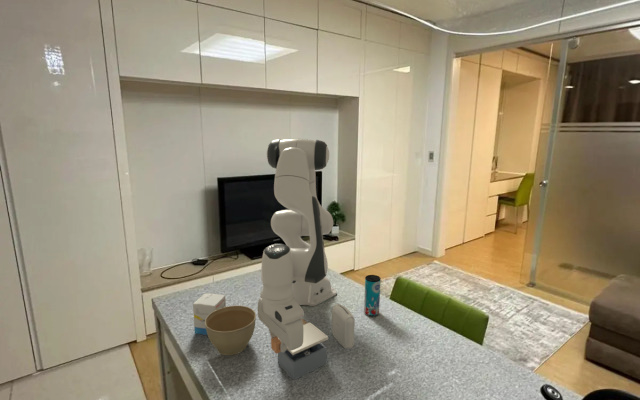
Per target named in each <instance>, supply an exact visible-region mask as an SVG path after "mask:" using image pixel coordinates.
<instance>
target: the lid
mask: <svg viewBox="0 0 640 400" xmlns="http://www.w3.org/2000/svg"><path fill="white" fill-rule="evenodd" d="M303 333H304V335H303V344H302V346H301V347H299V348H297V349H294V350H290V349H289V348H288V347H287V350H288V351H289V352H290V353H291V354H292V355H294V354H296V353H299V352H301V351H303V350H305V349H308V348H310V347H312V346H314V345H316V344H319V343H323V342H326V341H328V340H329V336H328V335H327V334H325V333H324V332H323V331H322V330H320V329H319V328H318V327H316V326H315V325H314V324H313V323H311V322H307V324H305V325H303ZM279 344H281V342H280V339H279V338H278V337H275V338H272V339H271V338H270V349H272V351H273V352H274V353H275V354H276V355H278V353H279V352H281V351H280V350H279Z"/></svg>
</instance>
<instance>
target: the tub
mask: <svg viewBox="0 0 640 400" xmlns="http://www.w3.org/2000/svg"><path fill="white" fill-rule="evenodd" d="M309 349H311V350H312V353H311V354H309V355H307V356H304V357H303V351H301V352H299V353H296V354H294V355H292V354H291V353H290V352H289V351H288V350H286V351H285V352H279V353H277V364H278V365H279V366H280V367H281V368H282V369H283V370H284V372H285V373H286V374H287V375H288V376H289V377H290V379H292V380H293V381H294V380H296V379H298V378H301V377H303V376H305V375H307V374H309V373H311V372H312V371H315V370H316V369H318V368H321V367H323V366H325V365H327V363H328V361H327V359H328V358H327V355H328V354H327V353H328V351H327V349H328V348H327V346H326V345H324V344H323V342H321V343H319V344H316V345H314V346H312V347H310V348H309Z"/></svg>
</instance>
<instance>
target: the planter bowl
mask: <svg viewBox="0 0 640 400" xmlns="http://www.w3.org/2000/svg"><path fill="white" fill-rule="evenodd" d="M256 320H257V313H256V311H255V310H254V309H253V308H251V307H249V306H245V305H230V306H226V307H223V308H220V309H218V310H215V311H214V312H212V313H210V314H209V315H208V316H207V318H206V320H205V326H206V330H207V335H206V336H207V337H208V339H209V341H210V342H211V345H213V347H214V348H215V349H216V350H217V351H218V352H217V353H219V354H220V355H222V356H223V355H224V356H233V355H234V356H235V355H238V354H240V353H242V352H243V351H244V350H245V349H247V346H248V344H249V342H250V341H251V339H252V337H253V335H254V332H255V329H256Z"/></svg>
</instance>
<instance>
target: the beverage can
mask: <svg viewBox="0 0 640 400" xmlns="http://www.w3.org/2000/svg"><path fill="white" fill-rule="evenodd" d="M364 277H365V278H364V301H363V303H364V305H363V312H364V314H365V315H366V316H368V317H376V316H378V315H380V300H381V299H380V296H381V277H380V276H379V275H376V274H368V275H365V276H364Z"/></svg>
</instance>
